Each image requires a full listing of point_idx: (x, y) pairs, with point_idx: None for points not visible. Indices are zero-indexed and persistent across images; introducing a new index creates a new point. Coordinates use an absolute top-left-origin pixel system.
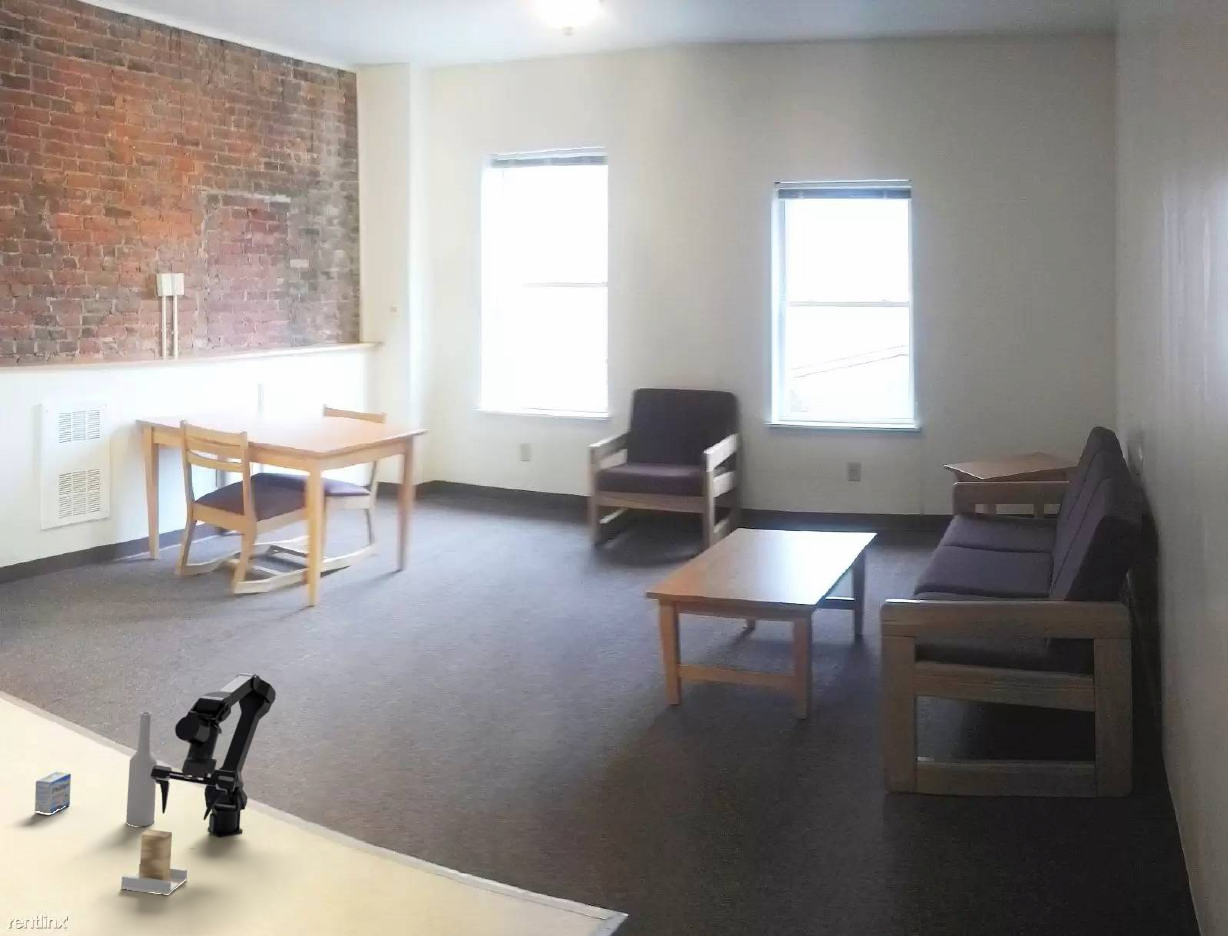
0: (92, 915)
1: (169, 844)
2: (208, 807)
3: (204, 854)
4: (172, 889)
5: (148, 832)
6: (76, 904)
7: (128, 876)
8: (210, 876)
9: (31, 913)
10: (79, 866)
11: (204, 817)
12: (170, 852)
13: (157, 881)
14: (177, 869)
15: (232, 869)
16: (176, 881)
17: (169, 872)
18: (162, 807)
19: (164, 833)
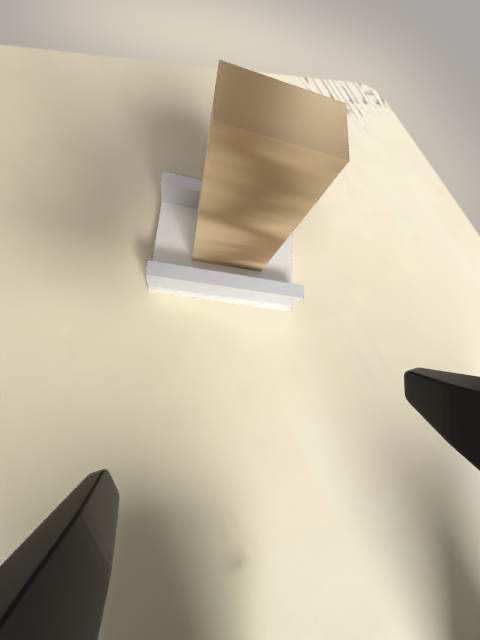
0: None
1: (206, 159)
2: (6, 595)
3: (171, 521)
4: (160, 210)
5: (329, 121)
6: None
7: None
8: (82, 338)
9: (375, 123)
10: (431, 327)
11: (93, 480)
12: (200, 200)
13: (200, 181)
14: (176, 265)
15: (11, 417)
16: (168, 256)
17: (194, 246)
18: (461, 375)
19: (246, 106)
